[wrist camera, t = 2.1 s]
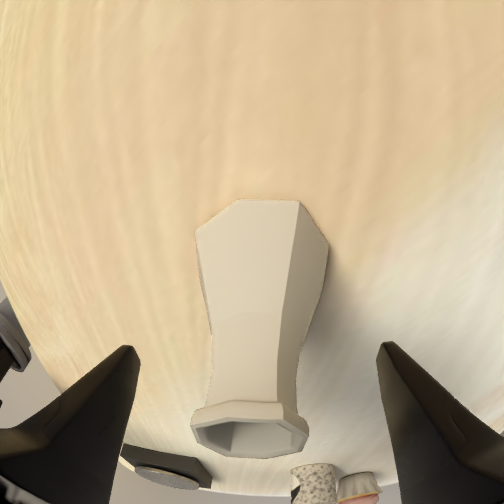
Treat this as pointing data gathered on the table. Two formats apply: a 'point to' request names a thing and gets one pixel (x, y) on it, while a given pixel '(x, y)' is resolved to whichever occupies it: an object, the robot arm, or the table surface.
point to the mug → (313, 484)
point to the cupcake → (358, 489)
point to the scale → (167, 463)
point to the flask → (257, 324)
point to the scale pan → (166, 478)
